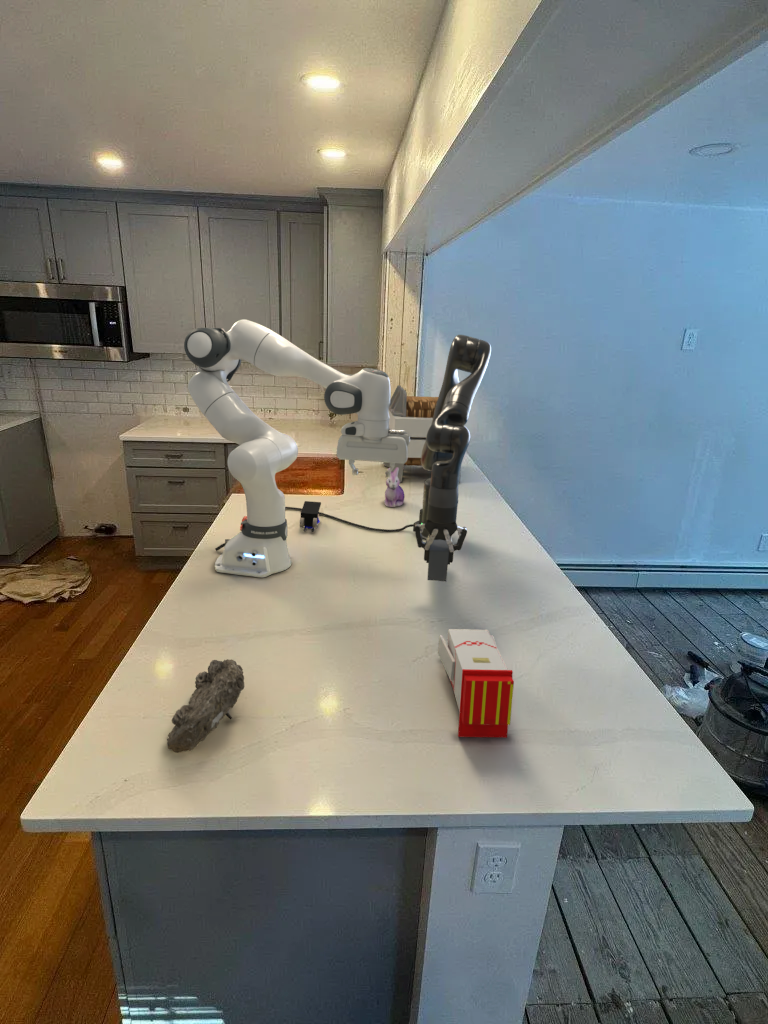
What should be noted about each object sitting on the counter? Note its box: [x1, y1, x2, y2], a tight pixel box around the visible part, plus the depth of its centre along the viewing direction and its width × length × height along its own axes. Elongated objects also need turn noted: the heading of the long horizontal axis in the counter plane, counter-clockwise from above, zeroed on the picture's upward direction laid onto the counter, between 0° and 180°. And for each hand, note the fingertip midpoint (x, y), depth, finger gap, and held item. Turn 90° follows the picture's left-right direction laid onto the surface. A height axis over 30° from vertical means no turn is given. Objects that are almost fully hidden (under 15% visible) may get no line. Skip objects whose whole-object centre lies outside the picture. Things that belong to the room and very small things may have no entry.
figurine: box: [383, 467, 405, 508], centre depth 227 cm, size 9×10×15 cm
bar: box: [427, 539, 449, 583], centre depth 160 cm, size 26×5×9 cm, turn 175°
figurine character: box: [299, 500, 322, 533], centre depth 201 cm, size 7×8×15 cm
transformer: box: [382, 384, 462, 483], centre depth 268 cm, size 34×33×41 cm
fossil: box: [166, 658, 245, 754], centre depth 106 cm, size 22×10×15 cm
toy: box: [437, 628, 515, 738], centre depth 117 cm, size 12×13×30 cm
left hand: (371, 476), depth 163 cm, fingers open, 8 cm apart
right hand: (437, 562), depth 150 cm, fingers closed on bar, 5 cm apart
